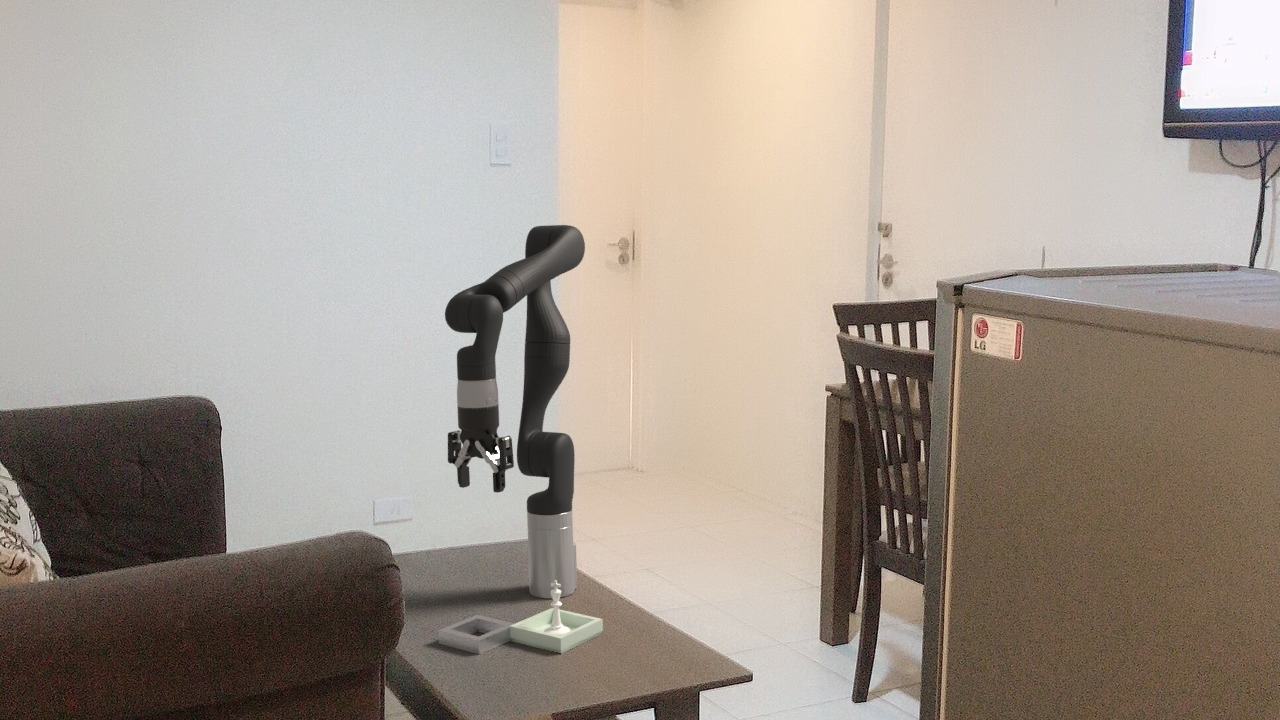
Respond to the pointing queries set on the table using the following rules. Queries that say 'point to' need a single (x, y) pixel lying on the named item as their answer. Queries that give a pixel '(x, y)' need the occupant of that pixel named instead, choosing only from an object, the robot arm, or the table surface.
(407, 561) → the table surface
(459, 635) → the collar block
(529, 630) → the tray
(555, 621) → the chess piece
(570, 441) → the robot arm
